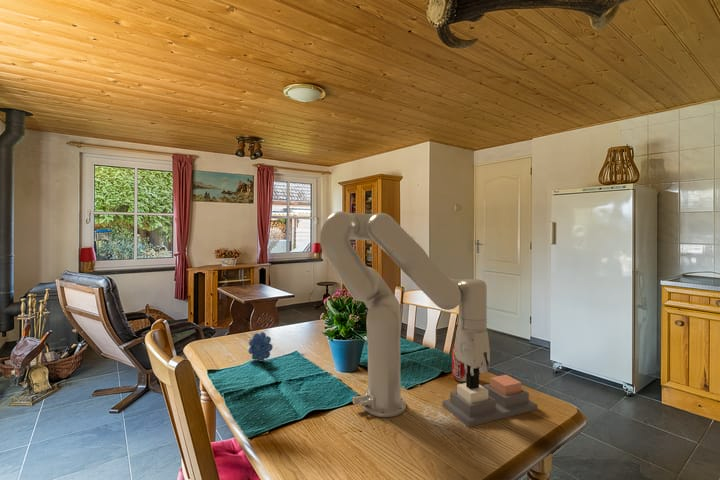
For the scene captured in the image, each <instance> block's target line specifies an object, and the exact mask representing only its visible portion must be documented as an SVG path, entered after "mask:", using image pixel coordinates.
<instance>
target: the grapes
mask: <svg viewBox="0 0 720 480" xmlns="http://www.w3.org/2000/svg"><path fill="white" fill-rule="evenodd" d="M271 342H272V339H271V337H270V336H269V335H267V333H265V332H264V331H261V332H260V333H258V332H257V333H254V334H253V335H252V338H251V339H249V341H248V345H249V348H248V353H249V354H250V355H251V359H252V360H253V359H257V361H258V360H264V361H265V359H268V358H269V357H270V356H271V351H272V350H273V344H272V343H271Z"/></svg>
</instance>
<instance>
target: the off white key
mask: <svg viewBox="0 0 720 480" xmlns="http://www.w3.org/2000/svg"><path fill="white" fill-rule="evenodd" d="M456 391H457V395H459V396H460V397H462V398H463V399H464V400H466V401H467V402H469V403H470V404H472V403H476V402H480V401H485V400H488V389H486V388H484V387H483V385H481V384H479V388H474V389H469V388H468V387H466V382H462V383H459V384H457V385H456Z"/></svg>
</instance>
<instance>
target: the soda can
mask: <svg viewBox="0 0 720 480" xmlns="http://www.w3.org/2000/svg"><path fill="white" fill-rule="evenodd" d="M451 374H452V378H453V379H455V380H456V381H457V382H461V383H466V372H465V367H464V364H463V363H462V362H461V361H460V360H458V359H457V358H456V357H455V342H454V343H453V347H452V348H451Z"/></svg>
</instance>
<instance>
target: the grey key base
mask: <svg viewBox="0 0 720 480" xmlns="http://www.w3.org/2000/svg"><path fill="white" fill-rule="evenodd" d="M482 386H483V387H484V388H486V389H488V400H485V401H480V402H476V403H472V404H470V403H469V402H467V401H466V400H464V399H463V398H462V397H460V396H459V395H457V390H453V391H450V393H449V394H450V395H449V397H450V398H448V399H444V400H441V401H442V403H441V404H442V407H443V408H444V409H445V410H447V411H448V412H449V413H451V414H452V415H453V416H454V417H456V418H457V419H458V420H459V421H460V422H461V423H463V424H465V425H466V426H467V427H468V428H470V427H474V426H479V425H481V424H486V423H489V422H494V421H498V420H501V419H505V418H509V417H514V416H517V415H521V414H525V413H529V412H533V411H537V410H538V404H537V403H536V402H534V401H532V400H531V399H530V393H529V391H527V390H525V389H523V388H521V392H520V393H515V394H511V395H507V396H504V395H503V394H501V393H499V392H498V391H496V390H494V389H493V388H491V387H490V383H487V384H482Z"/></svg>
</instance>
